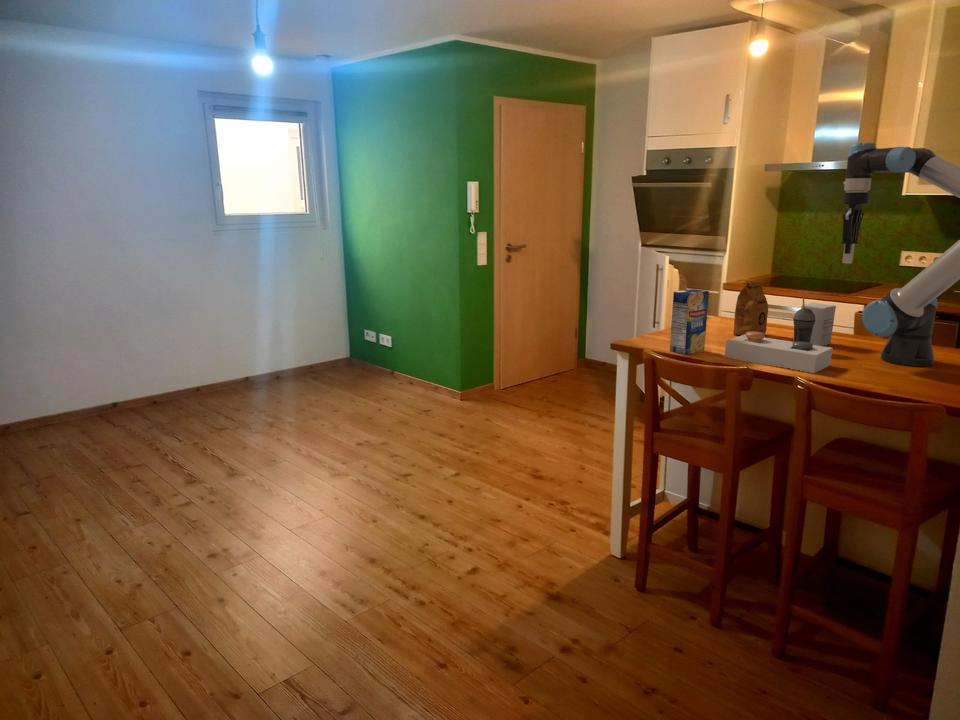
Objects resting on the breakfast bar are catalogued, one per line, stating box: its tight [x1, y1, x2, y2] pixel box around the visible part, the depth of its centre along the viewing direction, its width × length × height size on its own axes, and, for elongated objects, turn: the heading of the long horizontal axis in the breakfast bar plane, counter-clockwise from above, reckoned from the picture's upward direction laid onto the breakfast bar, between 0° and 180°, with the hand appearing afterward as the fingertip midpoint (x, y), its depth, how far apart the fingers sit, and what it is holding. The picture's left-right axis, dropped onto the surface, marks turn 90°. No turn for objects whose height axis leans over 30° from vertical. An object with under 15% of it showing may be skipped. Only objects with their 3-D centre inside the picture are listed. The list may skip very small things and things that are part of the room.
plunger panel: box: [724, 334, 833, 374], centre depth 221 cm, size 30×14×6 cm, turn 43°
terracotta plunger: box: [746, 331, 766, 343], centre depth 226 cm, size 6×6×6 cm
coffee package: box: [733, 279, 769, 336], centre depth 259 cm, size 10×12×22 cm
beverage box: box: [669, 288, 710, 356], centre depth 234 cm, size 7×11×22 cm, turn 124°
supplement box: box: [800, 302, 837, 347], centre depth 245 cm, size 9×9×15 cm
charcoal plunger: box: [792, 341, 813, 351], centre depth 215 cm, size 6×6×6 cm
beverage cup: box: [792, 295, 816, 343], centre depth 233 cm, size 7×7×20 cm
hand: (847, 263), depth 221 cm, fingers closed
